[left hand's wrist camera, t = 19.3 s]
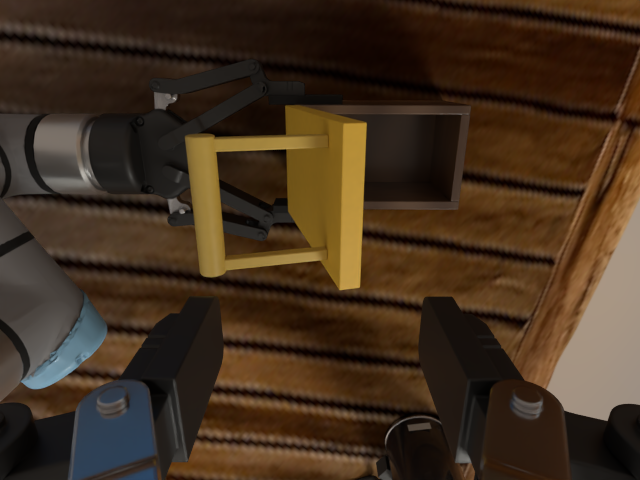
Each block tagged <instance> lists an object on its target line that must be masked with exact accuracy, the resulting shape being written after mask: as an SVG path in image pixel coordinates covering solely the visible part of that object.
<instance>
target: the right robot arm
mask: <svg viewBox="0 0 640 480" xmlns="http://www.w3.org/2000/svg"><path fill="white" fill-rule="evenodd" d="M246 77H250V79H251V81H252V84H253V85H252V86H250V87H248V88H247V89H245V90H243V91H241V92H240V93H238V94H236V95H235V96H233V97H231V98H229V99H228V100H226V101H224V102H222V103H221V104H219V105H217V106H216V107H214V108H212V109H210V110H209V111H207V112H205V113H204V114H202V115H200V116H198V117H196V118H194V119H193V120H191V121H189V122H186V121H185V120H184V119H182V118H181V117H179V116H178V115H176V114H175V113H173V112H172V111H171V110H169V106H170V105H171V104H172V103H174V102H178V101H179V100H180V94H184V93H191V92H195V91H199V90H203V89H206V88H210V87H214V86H217V85H221V84H225V83H228V82H232V81H235V80H239V79H243V78H246ZM149 87H150V89H151V90H152V91H153V92H154V100H155V109H154V110H152V111H150V112H149V113H145V114H102V115H100V116H99V115H97V114H42V115H39V114H0V401H2V400H3V399H4V398H5V397H6V396H7V395H8V394H9V393H10V392H11V391H12V390H13V389H14V388H15V387H16V386H18V385H19V382H22V383H24V384H25V385H26V386H27V387H29V388H32V389H40V388H44V387H47V386H49V385H51V384H53V383H55V382H57V381H58V380H60V379H62V378H63V377H65V376H66V375H68V374H69V373H70V372H72V371H73V370H74V369H76V368H77V367H78V366H79V365H80V364H81V363H82V362H83V361H84V360H85V359H87V358H88V357H90V356H91V355H92V354H93V353H94V352H95V351H96V350H97V349H98V348H99V346H100V345H101V344H102V342H103V341H104V339H105V337H106V334H107V325H106V323H105V321H104V320H103V318H102V317H101V316H100V314H99V313H98V311H97V310H96V309H95V307H94V306H93V304H92V303H91V302H90V300H89V299H88V297H87V295H86V294H85V293H84V292H83V291H82V290H81V289H79V288H78V287H77V286H76V285H75V284H74V282H73V281H72V280H71V279H70V278H69V277H68V276H67V274H66V273H65V272H64V271H63V270H62V269H61V268H60V267H59V265H58V264H57V263H56V262H55V261H54V260H53V259H52V257H51V256H50V255H49V254H48V253H47V252H46V251H45V250H44V248H43V247H42V246H41V245H40V244H39V243H38V242H37V240H36V239H35V238H34V236H33V235H32V234H31V233H30V232H29V230H28V229H27V228H26V227H25V226H24V224H23V223H22V222H21V221H20V220H19V219H18V217H17V216H16V215H15V214H14V213H13V212H12V210H11V209H10V208H9V207H8V206H7V205H6V203H5V202H4V201H3V200H2V199H5V198H8V197H10V196H14V195H20V194H105V193H107V192H109V193H111V194H156V195H159V196H161V197H163V198H166V199H167V201H168V205H169V210H170V214H171V215H170V216H169V217H168V223H169V224H170V225H171V226H183V225H195V223H194V214H193V206H192V204H191V203H190V202H188V201H184V200H182V199H181V198H180V194H182V193H183V192H184V191H186V190H187V189H188V188H190V189H191V187H190V178H189V169H188V160H187V152H186V143H185V136H186V135H190V134H201V132H203V131H205V130H207V129H208V128H210V127H212V126H213V125H215V124H217V123H218V122H220V121H222V120H224V119H225V118H227V117H229V116H231V115H232V114H234V113H236V112H238V111H239V110H241V109H243V108H245V107H246V106H248V105H250V104H251V103H253V102H255V101H257V100H258V99H260V98H262V97H264V96H269V104H342V102H343V95H305V84H304V83H302V82H300V81H270V80H269V79H268V78H267V77H266V75H265V72H264V70H263V66H262V64H261V62H260V61H257V60H254V59H249V60H245V61H242V62H238V63H235V64H231V65H227V66H224V67H220V68H217V69H213V70H209V71H206V72H202V73H199V74H195V75H191V76H188V77H184V78H181V79H168V78H153V79H151V80H150V82H149ZM219 188H220V200H221V202H222V203H224V204H226V205H228V206H230V207H232V208H234V209H237V210H239V211H241V212H243V213H245V214H247V215H249V216H251V217H253V218H255V219H257V220H255V219H251V218H246V217H242V216H238V215H234V214H230V213H225V212H222V223H223V232H225V233H229V234H233V235H238V236H242V237H246V238H251V239H255V240H259V241H263V240H265V239H266V238H267V235H268V232H269V230H270V227H271V225H272V224H273V223H276V222H295V221H294V220H293V218H292V217H291V215H290V214H289V212H288V198H276V199H275V202H274V204H273V205H272V206H271V205H269V204H267V203H265V202H263V201H261V200H259V199H257V198H255V197H253V196H251V195H249V194H247V193H245V192H243V191H241V190H239V189H237V188H235V187H233V186H231V185H229V184H227V183H225V182H223V181H221V180H219Z"/></svg>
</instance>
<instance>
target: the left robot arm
mask: <svg viewBox="0 0 640 480" xmlns="http://www.w3.org/2000/svg"><path fill="white" fill-rule="evenodd" d="M223 348H224V346H223V334H222V324H221V314H220V304H219V299H218V297H217V296H190V297H189V299H188V300H187V302H186V304H185V305H184V307H183V309H182V310H181V312H180V313H179V314H169V315H168V316H166V317H165V318H164V319H162V320H161V321H159V322H158V323H157V324H156V325H155V326H154V328H153V329H152V331H151V332H150V334H149V335H148V338H146V340H145V341H144V343H143V344H142V347H141V348H140V349H139V350H138V351H137V353H136V354H135V356H134V357H133V359H132V360H131V362H130V363H129V365H128V366H127V368H126V369H125V371H124V372H123V374H122V375H121V377H120V378H119V380H117V381H113V382H109V383H107V384H104V385H102V386H100V387H98V388H96V389H94V390H93V391H91V392H90V393H89V394H87V395H86V396H85V397H84V398H83V399H82V400H81V402H80V403H79V405H78V407H77V409H76V411H74V412H70V413H66V414H61V415H57V416H53V417H48V418H44V419H39V420H35V421H34V419H33V415H32V412H31V410H30V408H29V407H28V406H27V405H24V404H21V403H3V404H0V480H166V475H167V472H168V470H169V467H170V464H171V462H188V459H189V457H190V454H191V451H192V448H193V445H194V442H195V439H196V436H197V433H198V431H199V428H200V425H201V422H202V419H203V416H204V413H205V410H206V408H207V405H208V402H209V399H210V396H211V393H212V390H213V387H214V385H215V382H216V379H217V376H218V373H219V370H220V367H221V364H222V359H223ZM419 360H420V364H421V368H422V370H423V373H424V376H425V379H426V382H427V385H428V387H429V390H430V393H431V396H432V399H433V401H434V404H435V407H436V410H437V413H438V416H439V418H440V419H438V418H436V417H434V416H432V415H428V414H411V415H407V416H404V417H402V418H400V419H398V420H396V421H395V422H394V423H393V424H392V425H391V426H390V427H389V428H388V430H387V432H386V434H385V447H386V451H387V454H388V457H387V456H386V455H384V456H383V457H382V458H381V459H380V460H379V461H378V462H376V465H377V472H378V477H379V478H381V479H378V478H377V477H376V476H367V477H363V478H360V479H357V480H465V477H464V475H463V472H462V469H461V466H460V464H459V463H472V465H473V468H474V470H475V477H474V480H640V405H636V404H622V405H618V406H616V407H614V408H613V409H612V411H611V412H610V415H609V418H608V421H604V420H600V419H595V418H591V417H586V416H582V415H578V414H574V413H570V412H567V411H564V409H563V407H562V405H561V403H560V402H559V400H558V399H557V398H556V397H555V396H554V395H553V394H551V393H550V392H549V391H547V390H546V389H544V388H542V387H540V386H538V385H536V384H533V383H531V382H527V381H525V380H524V379H523V377H522V376H521V374H520V373H519V371H518V370H517V369H516V367H515V366H514V364H513V363H512V361H511V360H510V358H509V357H508V355H507V354H506V352H505V351H504V350H503V349H501V345H500V344H499V342H498V341H497V339H495V338H494V335H493V333H492V332H491V330H490V329H489V328H488V326H487V325H486V324H485V323H484V322H482V321H481V320H480V319H478V318H477V317H475V316H474V315H473V314H463V313H462V312H461V310H460V308H459V307H458V305H457V303H456V302H455V300H454V299H453V297H425V298H424V300H423V305H422V315H421V325H420V335H419Z"/></svg>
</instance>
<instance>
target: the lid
mask: <svg viewBox="0 0 640 480" xmlns="http://www.w3.org/2000/svg"><path fill="white" fill-rule="evenodd" d="M285 112H286V135H267V136H233V137H215V136H214V135H213V134H190V135H186V136H185V143H186V152H187V160H188V169H189V178H190V187H191V196H192V205H193V214H194V223H195V231H196V240H197V249H198V258H199V267H200V273H201V275H203V276H205V277H216V276H220V275H222V274H224V273H225V272H226V270H233V269H242V268H252V267H261V266H271V265H280V264H290V263H299V262H309V261H318V260H320V261H321V262H322V264H323V265H324V267H325V269H326V270H327V272H328V273H329V275H330V276H331V278H332V279H333V281H334V282H335V284H336V285H337V287H338V288H339V290H344V289H352V288H359V287H360V272H361V248H362V224H363V200H364V176H365V152H366V129H367V123H366V122H363V121H359V120H355V119H351V118H347V117H344V116H340V115H336V114H332V113H328V112H324V111H320V110H316V109H312V108H308V107H304V106H300V105H286V106H285ZM277 149H286V150H287V188H288V212H289V214H290V215H291V217H292V218H293V220H294V221H295V223H296V224H297V226H298V227H299V229H300V230H301V232H302V233H303V235H304V236H305V238H306V240H307V241H308V243H309V244H310V246H311V247H310V248H300V249H290V250H279V251H269V252H259V253H249V254H238V255H228V256H225V246H224V234H223V223H222V211H221V200H220V188H219V177H218V165H217V154H216V152H224V151H251V150H277Z"/></svg>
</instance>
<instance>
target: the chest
mask: <svg viewBox="0 0 640 480" xmlns="http://www.w3.org/2000/svg"><path fill="white" fill-rule="evenodd" d="M294 105H300V106H304V107H308V108H312V109H316V110H320V111H324V112H328V113H332V114H336V115H340V116H344V117H347V118H351V119H355V120H359V121H363V122H366V123H367V129H366V152H365V176H364V200H363V209H458V205H459V197H460V189H461V181H462V174H463V166H464V158H465V150H466V142H467V134H468V127H469V119H470V115H469V114H470V110H471V105H466V104H459V103H453V102H447V101H408V100H343V102H342V104H294Z"/></svg>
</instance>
